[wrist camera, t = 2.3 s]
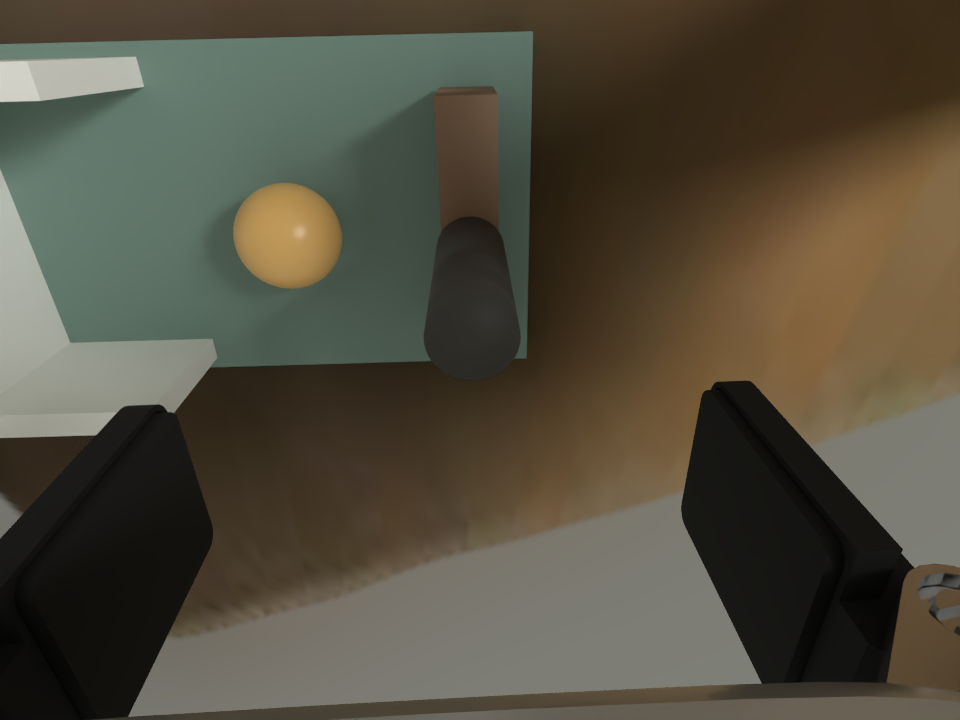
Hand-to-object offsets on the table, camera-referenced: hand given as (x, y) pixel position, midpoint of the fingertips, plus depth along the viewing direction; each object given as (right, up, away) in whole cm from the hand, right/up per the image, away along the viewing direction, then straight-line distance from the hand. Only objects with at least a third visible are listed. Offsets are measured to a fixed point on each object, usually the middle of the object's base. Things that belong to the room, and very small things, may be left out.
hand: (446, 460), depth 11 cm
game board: (-9, +8, +15) cm, 19 cm away
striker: (0, +8, +14) cm, 16 cm away
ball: (-7, +7, +12) cm, 15 cm away
